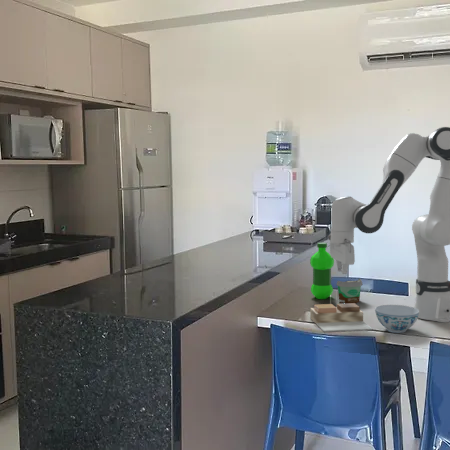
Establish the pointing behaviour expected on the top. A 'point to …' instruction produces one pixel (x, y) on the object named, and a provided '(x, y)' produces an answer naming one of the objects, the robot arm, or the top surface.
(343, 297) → the food container
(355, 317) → the birch deck
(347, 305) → the walnut tile
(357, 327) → the grey mat
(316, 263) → the plastic bottle
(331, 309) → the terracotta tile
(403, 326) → the chinaware
